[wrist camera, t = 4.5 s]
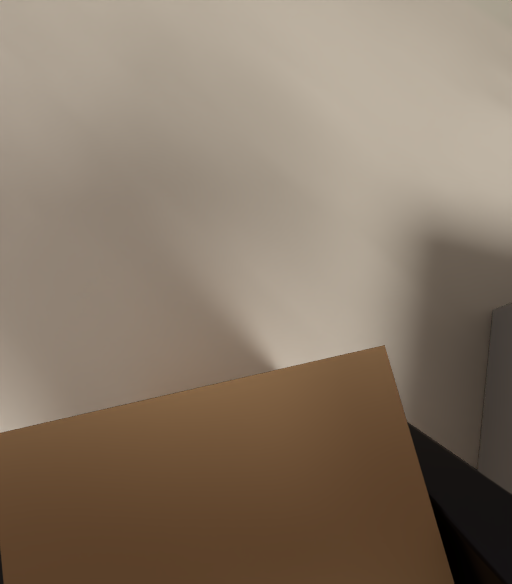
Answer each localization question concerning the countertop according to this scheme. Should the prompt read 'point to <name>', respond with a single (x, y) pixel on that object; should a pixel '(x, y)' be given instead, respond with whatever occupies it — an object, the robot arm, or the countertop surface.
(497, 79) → the countertop surface
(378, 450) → the oak block
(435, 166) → the countertop surface
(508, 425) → the collar
